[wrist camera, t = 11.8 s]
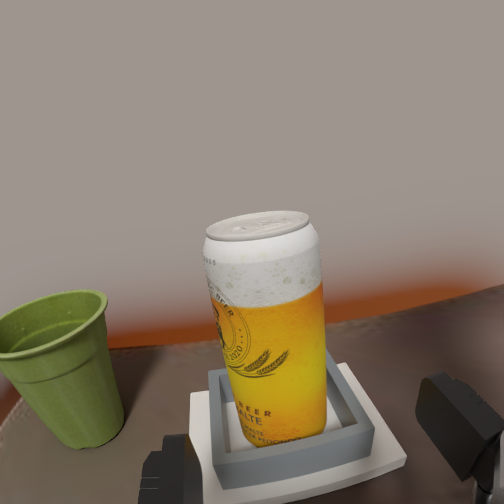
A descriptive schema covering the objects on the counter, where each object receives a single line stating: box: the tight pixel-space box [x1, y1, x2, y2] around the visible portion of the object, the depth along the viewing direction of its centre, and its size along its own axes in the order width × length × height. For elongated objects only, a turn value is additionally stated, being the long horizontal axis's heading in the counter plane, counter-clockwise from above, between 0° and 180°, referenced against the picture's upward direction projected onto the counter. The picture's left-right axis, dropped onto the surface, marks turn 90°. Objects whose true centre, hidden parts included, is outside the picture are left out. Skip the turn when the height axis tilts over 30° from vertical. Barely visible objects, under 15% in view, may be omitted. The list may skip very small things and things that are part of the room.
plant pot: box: [0, 289, 124, 449], centre depth 22 cm, size 12×12×11 cm
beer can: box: [202, 211, 327, 448], centre depth 19 cm, size 6×6×15 cm
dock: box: [189, 349, 407, 504], centre depth 21 cm, size 14×12×4 cm
